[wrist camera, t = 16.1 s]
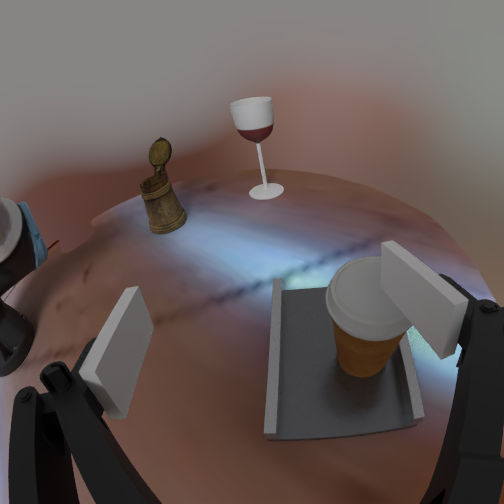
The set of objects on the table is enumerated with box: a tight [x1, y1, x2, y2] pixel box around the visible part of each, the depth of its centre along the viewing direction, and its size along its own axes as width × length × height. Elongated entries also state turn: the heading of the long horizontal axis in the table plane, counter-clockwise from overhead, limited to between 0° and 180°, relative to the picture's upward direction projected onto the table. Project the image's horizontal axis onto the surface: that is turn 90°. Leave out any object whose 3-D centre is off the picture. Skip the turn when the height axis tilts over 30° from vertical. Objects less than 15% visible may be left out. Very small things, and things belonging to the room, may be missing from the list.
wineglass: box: [230, 97, 284, 200], centre depth 63 cm, size 9×10×22 cm
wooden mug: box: [140, 137, 187, 234], centre depth 63 cm, size 9×14×18 cm, turn 171°
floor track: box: [264, 278, 425, 441], centre depth 33 cm, size 22×16×3 cm
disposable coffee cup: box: [326, 256, 412, 377], centre depth 29 cm, size 10×10×12 cm
